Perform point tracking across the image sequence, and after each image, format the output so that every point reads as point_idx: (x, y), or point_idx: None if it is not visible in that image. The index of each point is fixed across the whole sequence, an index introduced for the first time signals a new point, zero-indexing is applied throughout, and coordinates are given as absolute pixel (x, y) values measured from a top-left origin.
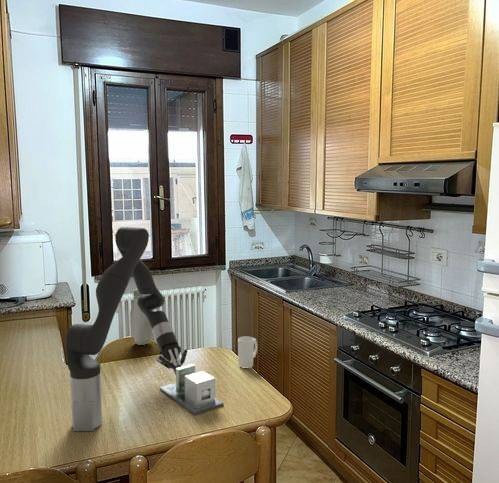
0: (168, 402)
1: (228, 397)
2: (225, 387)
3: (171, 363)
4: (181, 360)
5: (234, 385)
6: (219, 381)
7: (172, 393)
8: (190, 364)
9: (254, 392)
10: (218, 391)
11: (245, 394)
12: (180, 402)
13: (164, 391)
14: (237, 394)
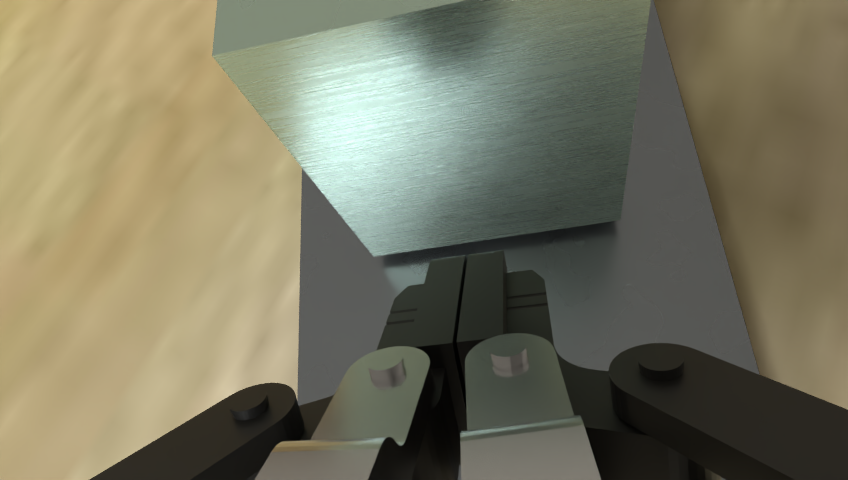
0: (765, 121)
1: (204, 11)
2: (92, 184)
3: (630, 388)
4: (264, 451)
5: (10, 186)
6: (33, 340)
7: (672, 230)
8: (260, 39)
9: (9, 16)
10: (193, 138)
11: (76, 10)
12: (653, 7)
13: (755, 372)
14: (117, 30)
